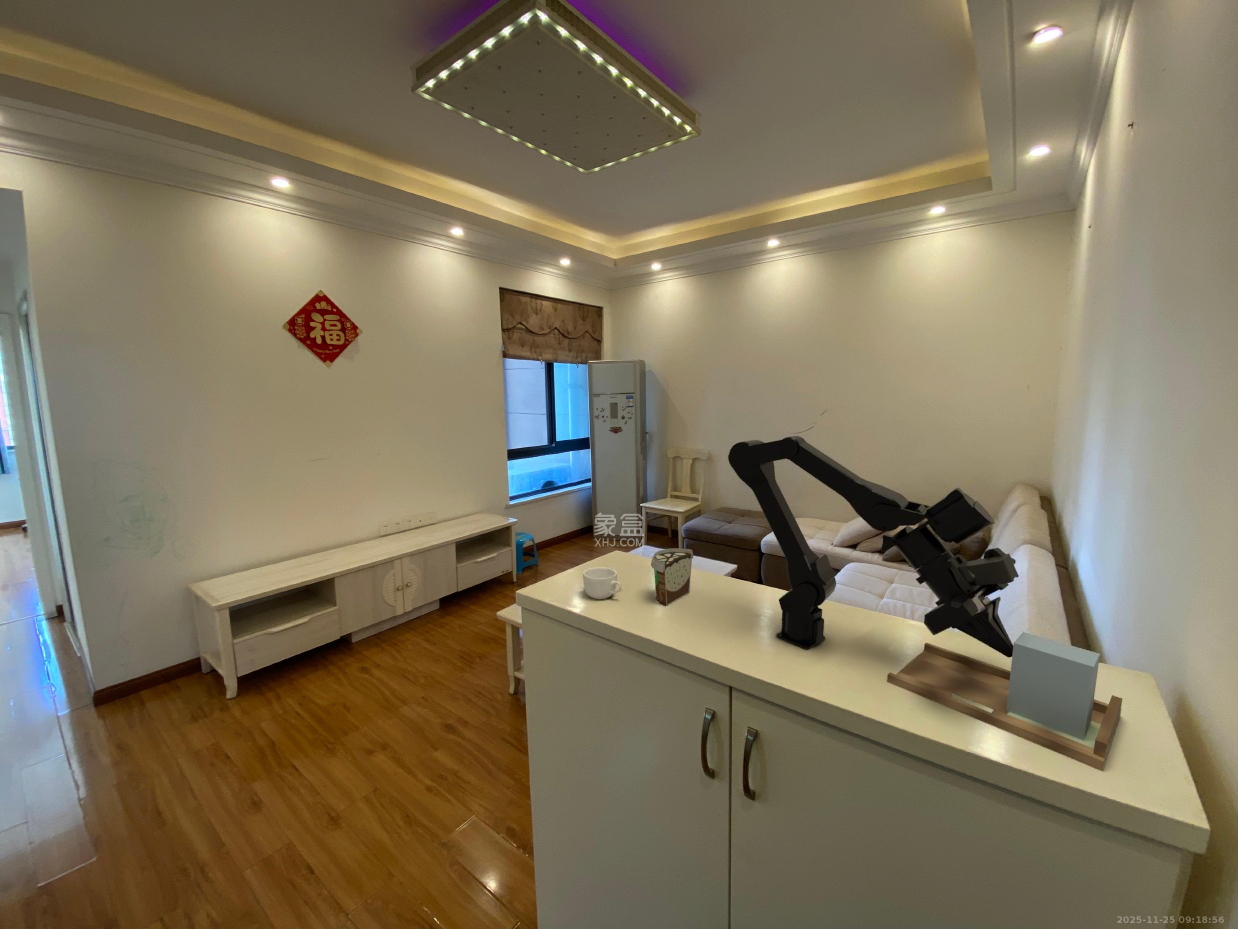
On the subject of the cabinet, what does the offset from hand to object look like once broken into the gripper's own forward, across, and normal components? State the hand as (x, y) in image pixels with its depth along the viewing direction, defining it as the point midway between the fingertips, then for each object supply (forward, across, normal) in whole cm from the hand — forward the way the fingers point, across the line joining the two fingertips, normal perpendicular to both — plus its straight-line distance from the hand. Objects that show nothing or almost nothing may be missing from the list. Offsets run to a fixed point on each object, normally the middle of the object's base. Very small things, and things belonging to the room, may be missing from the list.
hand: (1012, 655), depth 70 cm
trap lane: (+5, 0, +7) cm, 8 cm away
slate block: (+8, 0, +2) cm, 8 cm away
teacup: (-43, -20, +55) cm, 72 cm away
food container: (-37, -8, +48) cm, 61 cm away
